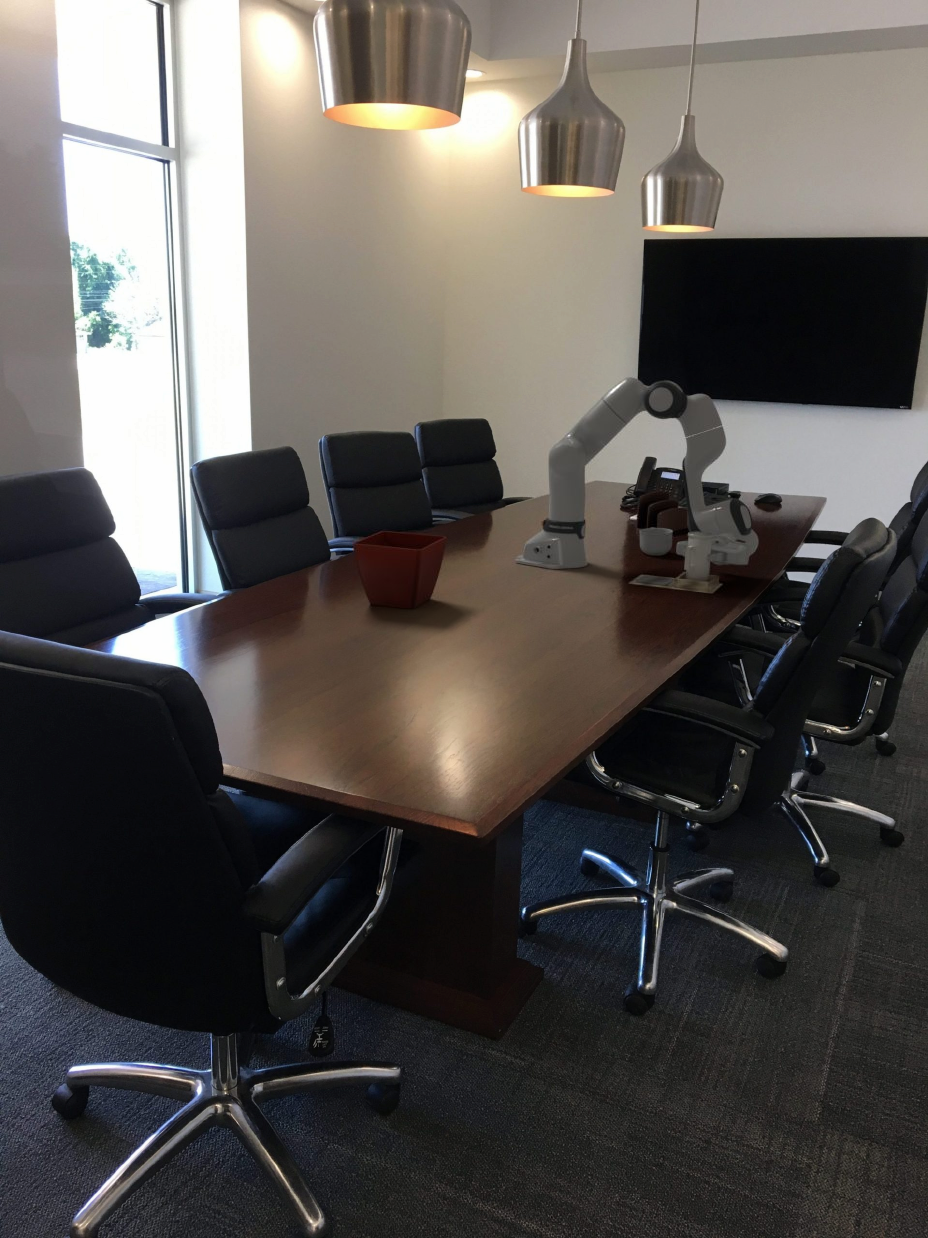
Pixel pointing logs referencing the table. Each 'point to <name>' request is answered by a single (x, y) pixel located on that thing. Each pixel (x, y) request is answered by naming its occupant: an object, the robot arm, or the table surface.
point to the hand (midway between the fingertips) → (697, 555)
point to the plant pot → (399, 567)
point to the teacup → (655, 541)
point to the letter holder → (660, 512)
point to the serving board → (679, 583)
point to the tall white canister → (698, 556)
